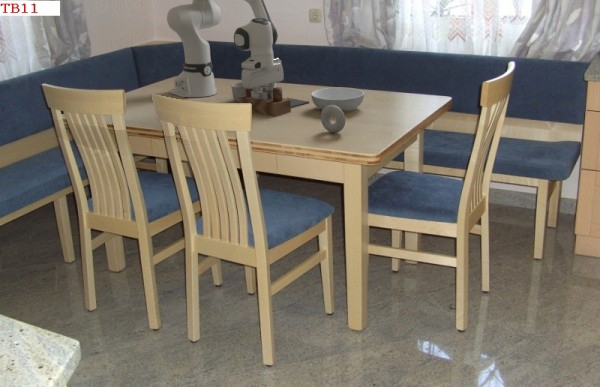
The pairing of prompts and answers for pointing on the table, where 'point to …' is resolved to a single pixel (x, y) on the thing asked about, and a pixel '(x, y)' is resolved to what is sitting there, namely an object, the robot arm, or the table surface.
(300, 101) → the rubber mat
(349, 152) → the table surface
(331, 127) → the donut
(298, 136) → the table surface
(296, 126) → the table surface
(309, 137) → the table surface
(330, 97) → the serving bowl
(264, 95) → the lever cap
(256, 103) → the wooden peg stand
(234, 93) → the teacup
